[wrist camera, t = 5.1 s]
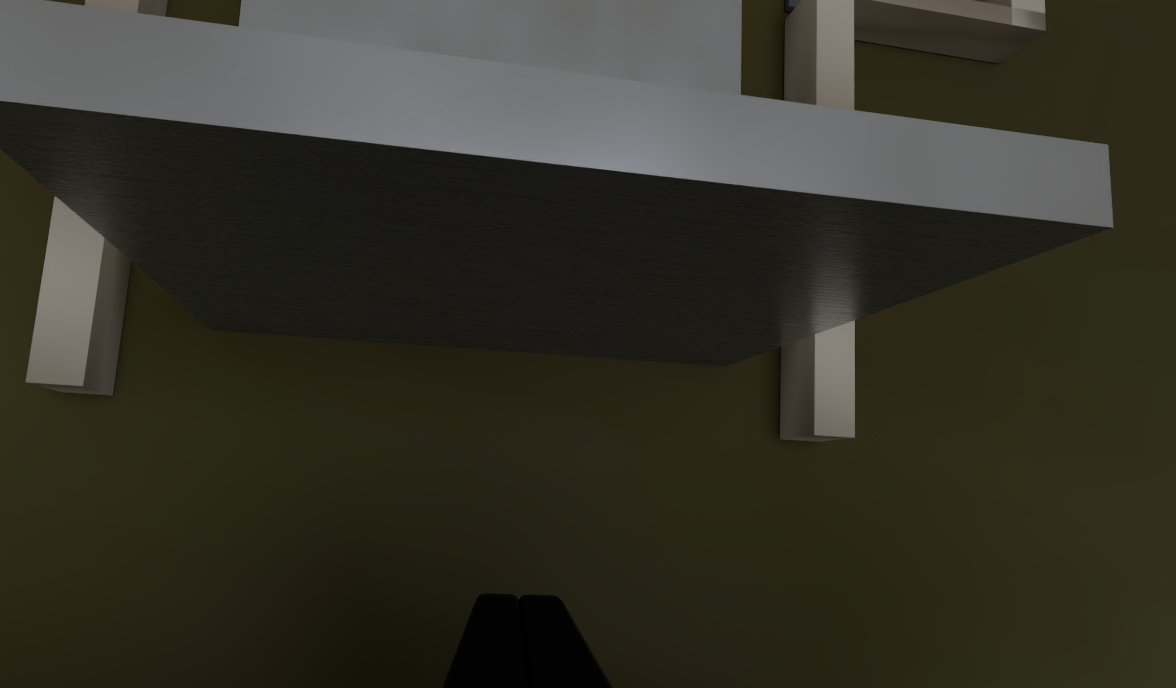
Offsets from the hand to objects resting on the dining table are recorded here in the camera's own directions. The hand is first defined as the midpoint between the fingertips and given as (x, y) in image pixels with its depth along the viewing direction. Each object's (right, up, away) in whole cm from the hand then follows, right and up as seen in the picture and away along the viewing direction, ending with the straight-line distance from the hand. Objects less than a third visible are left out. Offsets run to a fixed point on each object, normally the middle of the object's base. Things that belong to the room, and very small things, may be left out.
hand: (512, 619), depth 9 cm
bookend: (-1, +9, +9) cm, 12 cm away
